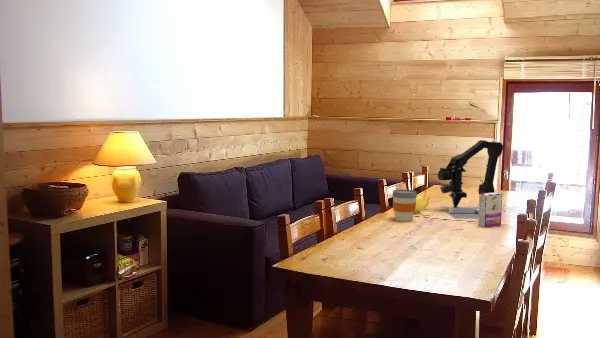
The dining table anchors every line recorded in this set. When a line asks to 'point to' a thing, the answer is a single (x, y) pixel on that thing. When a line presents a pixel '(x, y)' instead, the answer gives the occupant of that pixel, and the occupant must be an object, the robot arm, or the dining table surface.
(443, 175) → the robot arm
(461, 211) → the dial lever
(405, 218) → the reusable coffee cup
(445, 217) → the dining table surface
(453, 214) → the dial plate
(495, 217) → the candy bar box
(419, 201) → the teapot
